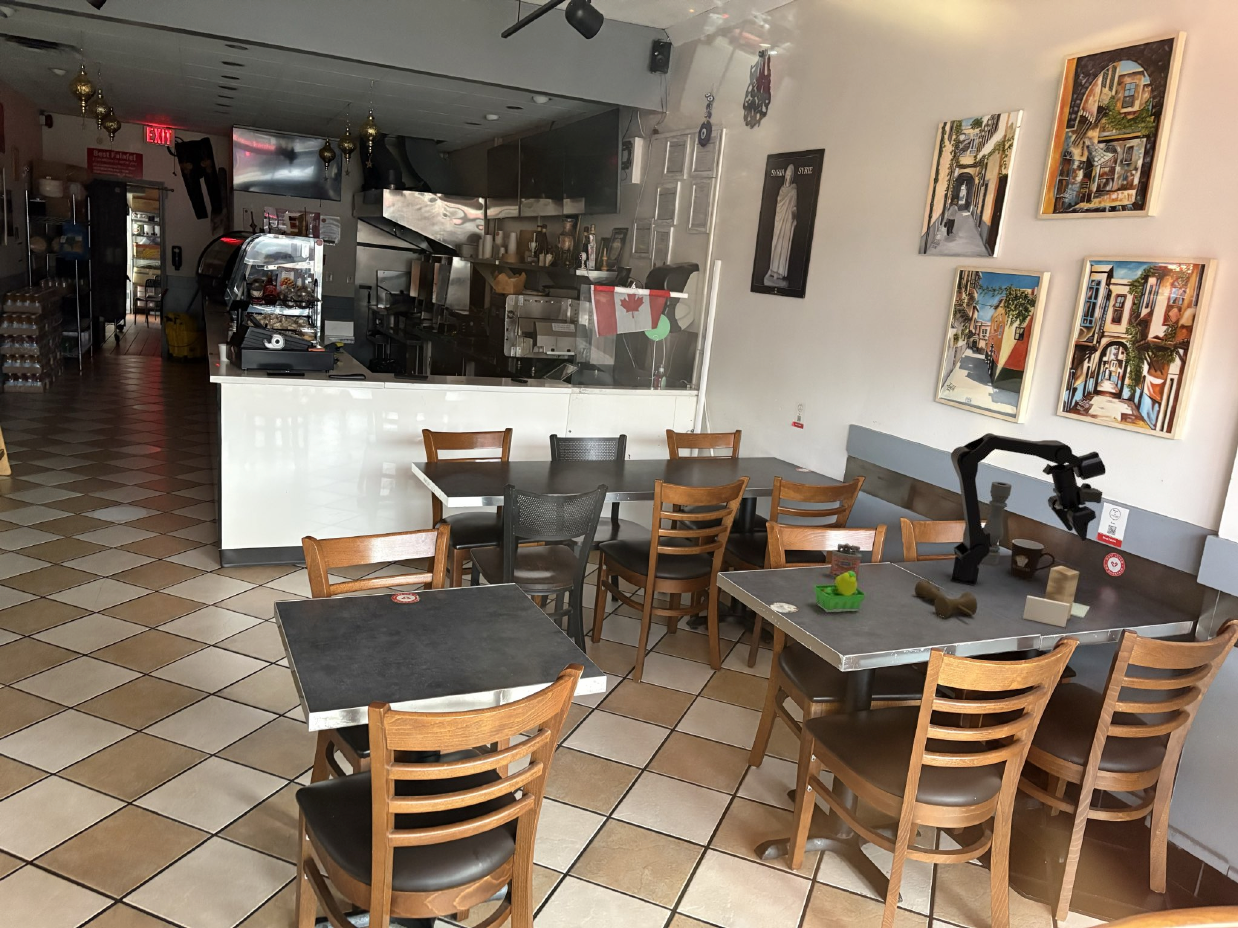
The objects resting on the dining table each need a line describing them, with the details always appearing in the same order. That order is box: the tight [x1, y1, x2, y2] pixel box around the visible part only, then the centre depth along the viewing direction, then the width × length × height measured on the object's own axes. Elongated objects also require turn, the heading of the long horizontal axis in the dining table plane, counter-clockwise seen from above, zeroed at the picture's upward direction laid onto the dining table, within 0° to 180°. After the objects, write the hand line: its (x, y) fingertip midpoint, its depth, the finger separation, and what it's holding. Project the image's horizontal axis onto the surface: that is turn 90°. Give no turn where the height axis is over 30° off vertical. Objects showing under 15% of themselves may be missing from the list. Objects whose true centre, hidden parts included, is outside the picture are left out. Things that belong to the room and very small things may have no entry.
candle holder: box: [980, 481, 1012, 566], centre depth 276 cm, size 6×6×25 cm
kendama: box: [914, 579, 978, 618], centre depth 235 cm, size 6×10×20 cm
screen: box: [1022, 595, 1070, 628], centre depth 232 cm, size 10×1×6 cm, turn 67°
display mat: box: [1070, 602, 1091, 619], centre depth 244 cm, size 10×10×1 cm
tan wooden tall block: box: [1044, 565, 1080, 620], centre depth 236 cm, size 5×5×13 cm
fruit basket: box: [813, 571, 866, 610], centre depth 228 cm, size 11×9×11 cm
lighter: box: [828, 543, 863, 582], centre depth 252 cm, size 8×3×10 cm, turn 73°
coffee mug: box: [1009, 538, 1056, 580], centre depth 266 cm, size 12×9×10 cm
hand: (1077, 535), depth 254 cm, fingers open, 9 cm apart
